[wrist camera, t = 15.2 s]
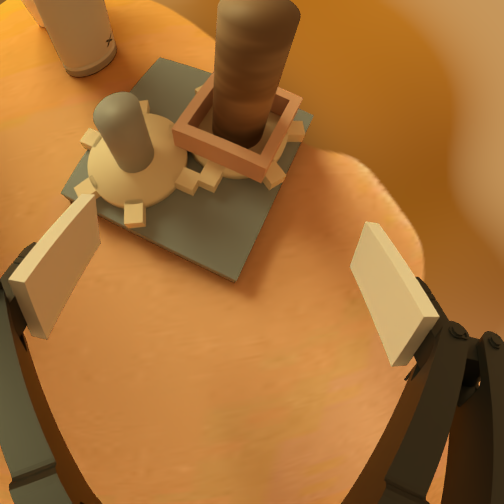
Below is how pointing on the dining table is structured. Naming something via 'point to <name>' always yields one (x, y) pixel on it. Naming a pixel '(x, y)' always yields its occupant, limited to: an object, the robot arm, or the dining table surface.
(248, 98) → the wooden dowel peg
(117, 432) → the dining table surface
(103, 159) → the gear board
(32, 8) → the foam cup
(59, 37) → the travel mug
